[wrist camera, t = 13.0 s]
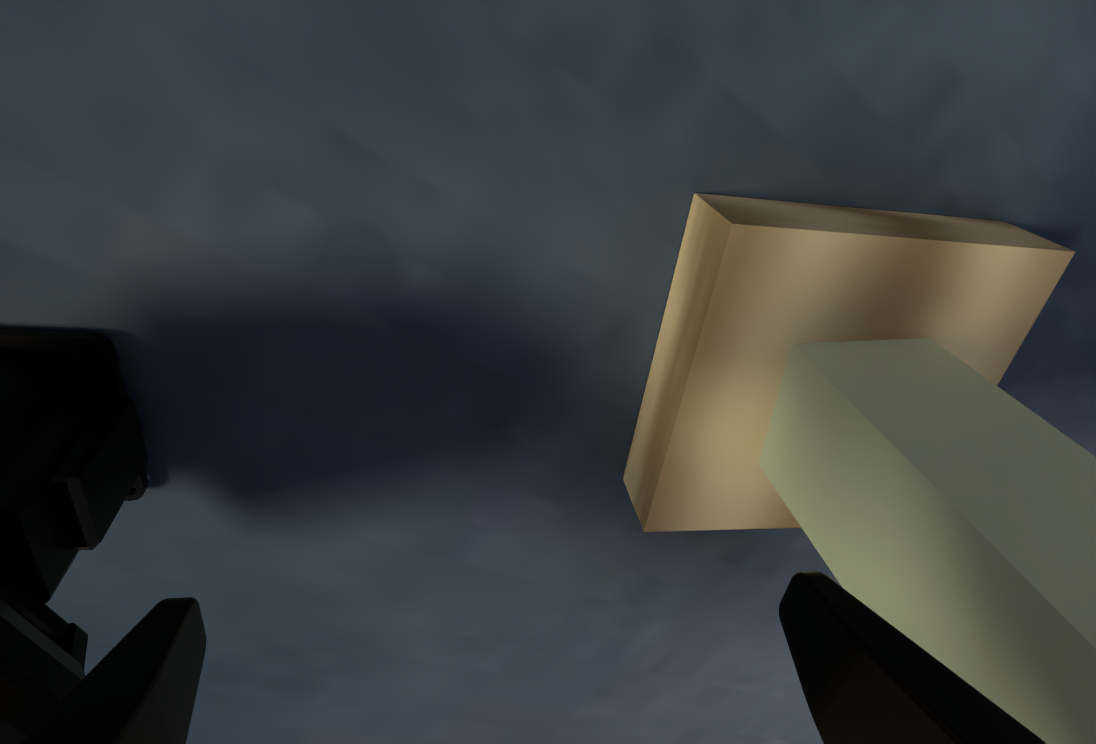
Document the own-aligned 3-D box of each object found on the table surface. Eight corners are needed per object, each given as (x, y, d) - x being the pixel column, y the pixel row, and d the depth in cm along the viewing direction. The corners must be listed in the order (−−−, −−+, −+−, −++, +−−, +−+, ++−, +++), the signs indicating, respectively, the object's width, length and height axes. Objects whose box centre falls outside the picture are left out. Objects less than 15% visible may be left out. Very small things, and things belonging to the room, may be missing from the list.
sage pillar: (758, 463, 23) (1056, 901, 12) (792, 344, 20) (1211, 764, 10) (881, 454, 24) (1264, 856, 13) (930, 337, 21) (1460, 719, 10)
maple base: (622, 479, 26) (643, 531, 24) (694, 192, 20) (732, 224, 18) (873, 476, 29) (915, 524, 26) (1003, 221, 23) (1075, 251, 20)
